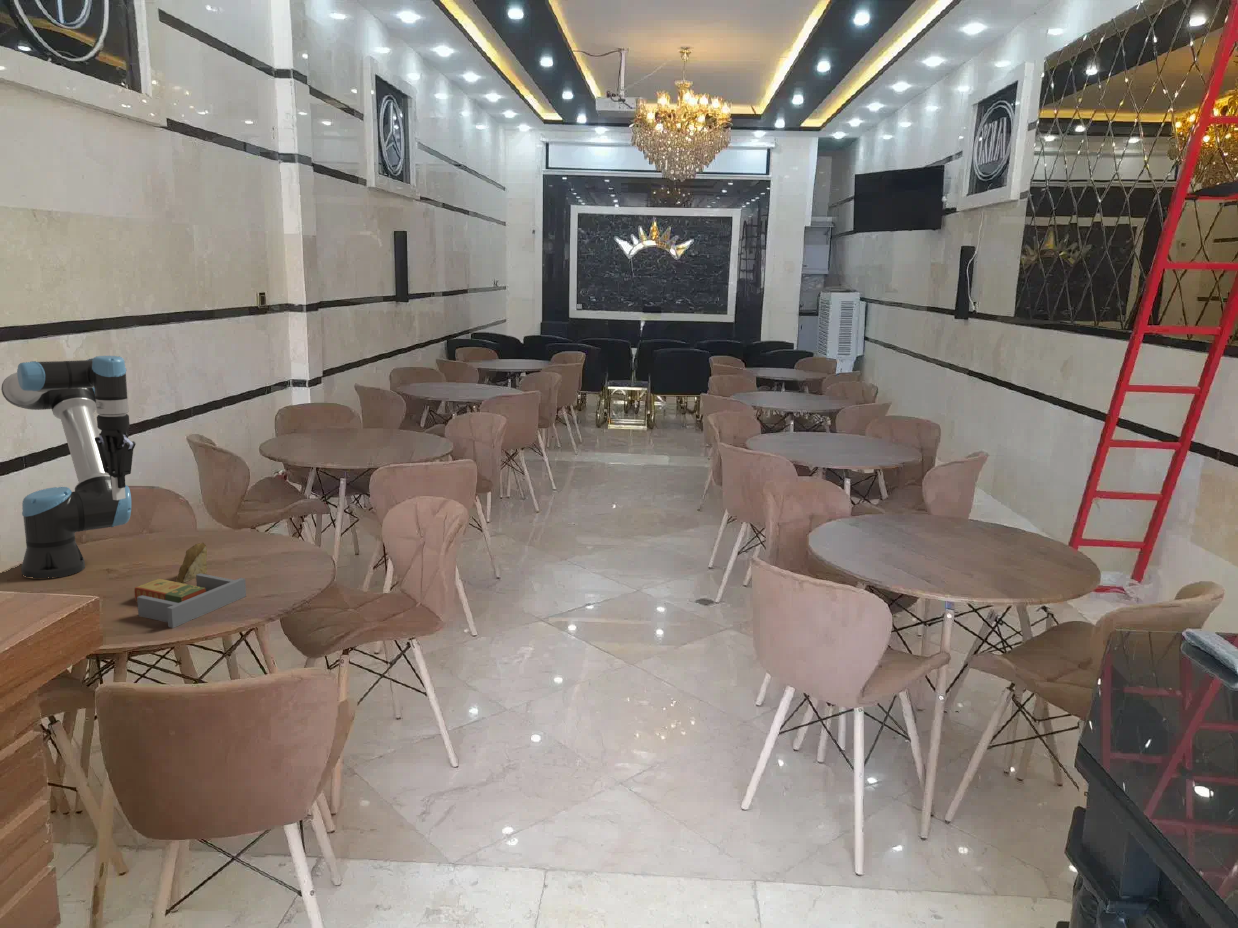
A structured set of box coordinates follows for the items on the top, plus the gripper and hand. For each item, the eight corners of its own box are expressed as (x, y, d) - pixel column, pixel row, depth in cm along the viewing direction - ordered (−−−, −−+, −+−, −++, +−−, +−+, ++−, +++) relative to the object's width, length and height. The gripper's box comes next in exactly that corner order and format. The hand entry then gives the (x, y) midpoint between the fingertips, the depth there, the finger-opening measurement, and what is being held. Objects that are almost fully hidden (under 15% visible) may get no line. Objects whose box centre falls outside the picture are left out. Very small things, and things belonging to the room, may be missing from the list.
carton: (160, 592, 234) (159, 577, 233) (207, 601, 229) (206, 586, 228) (134, 602, 226) (133, 586, 225) (182, 612, 221) (181, 596, 220)
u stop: (131, 618, 215) (130, 599, 214) (207, 588, 237) (206, 571, 236) (173, 627, 210) (171, 608, 209) (246, 596, 232) (245, 578, 231)
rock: (182, 579, 237) (217, 566, 244) (168, 552, 238) (204, 540, 245) (173, 592, 244) (207, 579, 251) (160, 566, 245) (194, 554, 252)
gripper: (82, 413, 230) (89, 498, 236) (117, 418, 226) (123, 505, 231) (108, 409, 237) (115, 492, 242) (142, 415, 232) (148, 499, 238)
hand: (119, 498), depth 237 cm, fingers closed
